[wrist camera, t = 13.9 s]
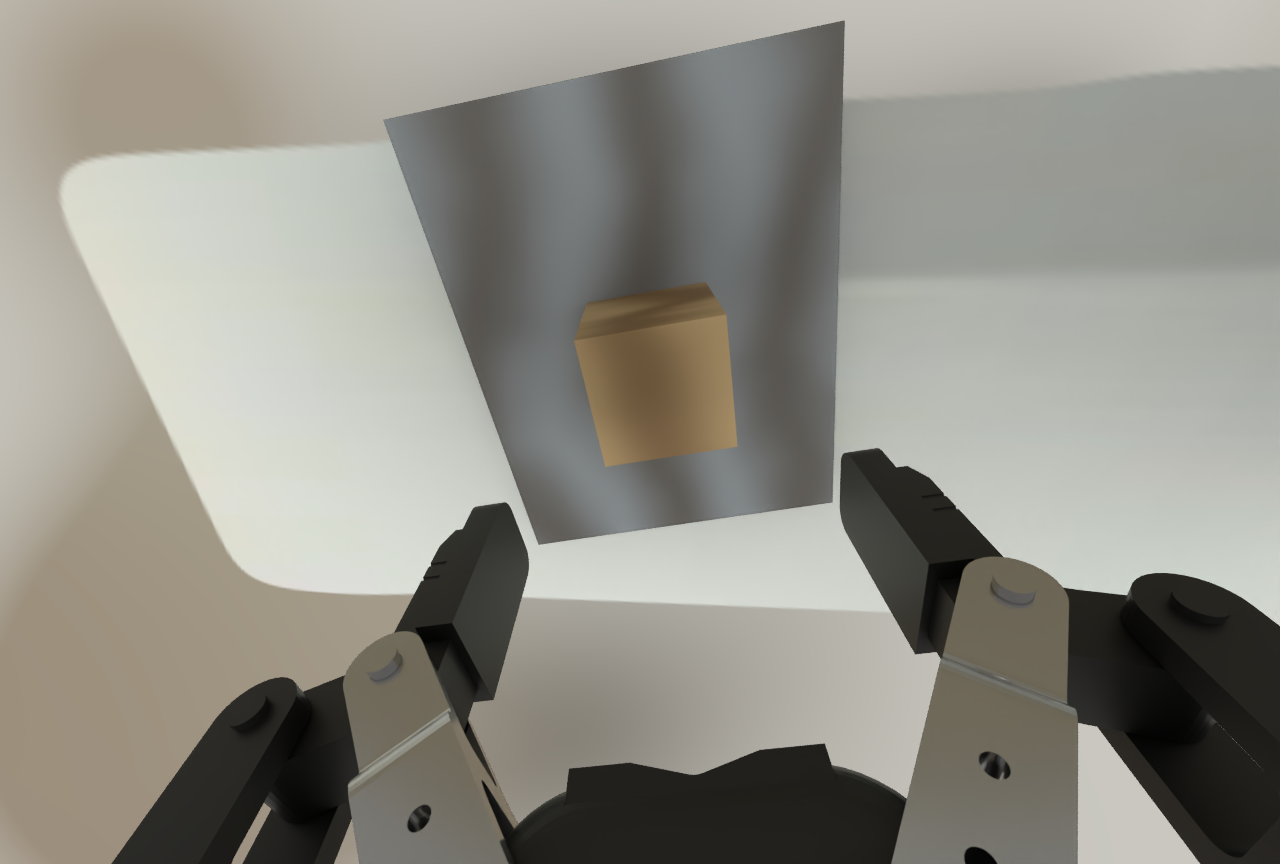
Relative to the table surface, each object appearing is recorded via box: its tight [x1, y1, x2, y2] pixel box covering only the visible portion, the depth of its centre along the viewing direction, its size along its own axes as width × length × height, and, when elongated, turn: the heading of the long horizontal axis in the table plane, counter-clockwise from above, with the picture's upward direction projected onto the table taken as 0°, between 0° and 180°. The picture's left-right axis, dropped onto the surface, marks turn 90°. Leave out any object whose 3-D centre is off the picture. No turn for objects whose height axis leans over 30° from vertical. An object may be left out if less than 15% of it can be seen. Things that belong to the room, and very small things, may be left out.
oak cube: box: [574, 282, 738, 467], centre depth 19 cm, size 5×5×5 cm
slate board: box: [384, 21, 845, 544], centre depth 22 cm, size 16×20×1 cm
